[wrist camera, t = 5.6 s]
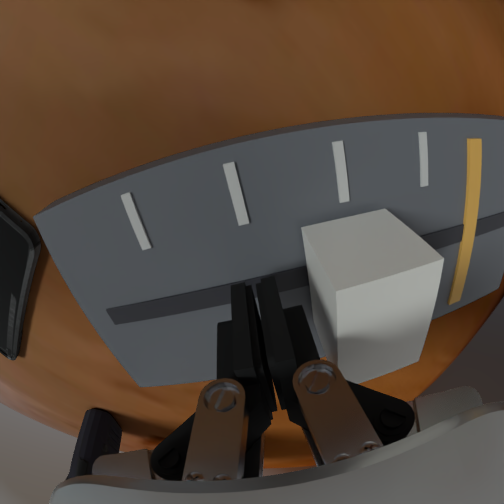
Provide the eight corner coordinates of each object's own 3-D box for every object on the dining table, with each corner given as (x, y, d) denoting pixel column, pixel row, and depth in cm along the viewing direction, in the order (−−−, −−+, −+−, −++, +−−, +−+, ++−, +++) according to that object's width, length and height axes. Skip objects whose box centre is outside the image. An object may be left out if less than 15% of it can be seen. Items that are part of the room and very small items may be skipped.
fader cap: (301, 227, 11) (335, 290, 7) (385, 208, 10) (444, 258, 7) (313, 321, 13) (337, 390, 9) (381, 302, 13) (418, 361, 9)
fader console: (54, 201, 11) (30, 218, 9) (500, 116, 10) (525, 122, 8) (145, 364, 17) (139, 389, 15) (483, 273, 16) (500, 289, 14)
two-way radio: (127, 432, 23) (114, 553, 10) (92, 425, 23) (72, 539, 10) (110, 407, 20) (87, 551, 7) (71, 400, 20) (41, 531, 7)
